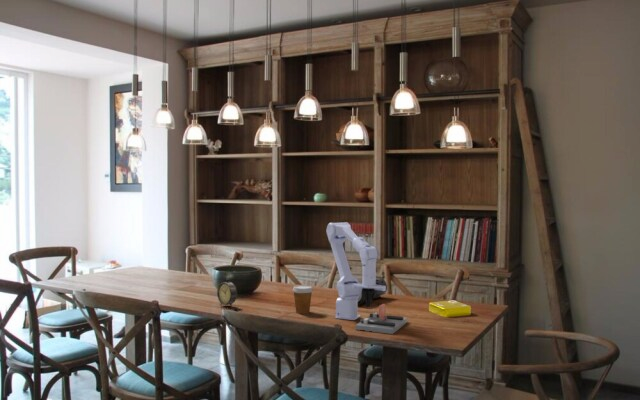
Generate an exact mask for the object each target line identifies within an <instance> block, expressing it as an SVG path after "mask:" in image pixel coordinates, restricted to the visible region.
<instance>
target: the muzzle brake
mask: <svg viewBox="0 0 640 400" xmlns="http://www.w3.org/2000/svg"><path fill="white" fill-rule="evenodd" d="M360 284H362V282H360ZM376 285H382V286H386V290H385V291H381V290H376V292H375V294H374V297H373V300H374V299H377V298H380V297H381V296H382V295H385V294H386V292H387V290H388V284H387V282H386V281H385V280H384V279H383V278H376ZM362 290H363V289H362ZM365 302H366V301H365V298H364V296H363V294H362V292H361V295H360V296H359V298H358V305H359V304H360V305H362V304H365Z"/></svg>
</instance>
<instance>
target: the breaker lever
mask: <svg viewBox="0 0 640 400" xmlns="http://www.w3.org/2000/svg"><path fill="white" fill-rule="evenodd" d="M378 314H379V318H382V321H383V320H385V315H386V303H382V304H380V305H379V306H378Z"/></svg>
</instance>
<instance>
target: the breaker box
mask: <svg viewBox="0 0 640 400" xmlns="http://www.w3.org/2000/svg"><path fill="white" fill-rule="evenodd" d="M407 323H408V317H406V316H405V317H404V316H399V315H391V314H390V315H389V314H385V320H383V321H382V318H379V312H373V313H369V316H368V317H365V318H363V319H360V320H359V322H358V323H357V324H355V329H357V330H356V331H360V330H365V331H364V332H369V331H372V333H379V334H386V335H388V334H389V335H393V334H394V333H396V332H398V330H400V329H401V328H402V327H403V326H405V325H406V324H407Z"/></svg>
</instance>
